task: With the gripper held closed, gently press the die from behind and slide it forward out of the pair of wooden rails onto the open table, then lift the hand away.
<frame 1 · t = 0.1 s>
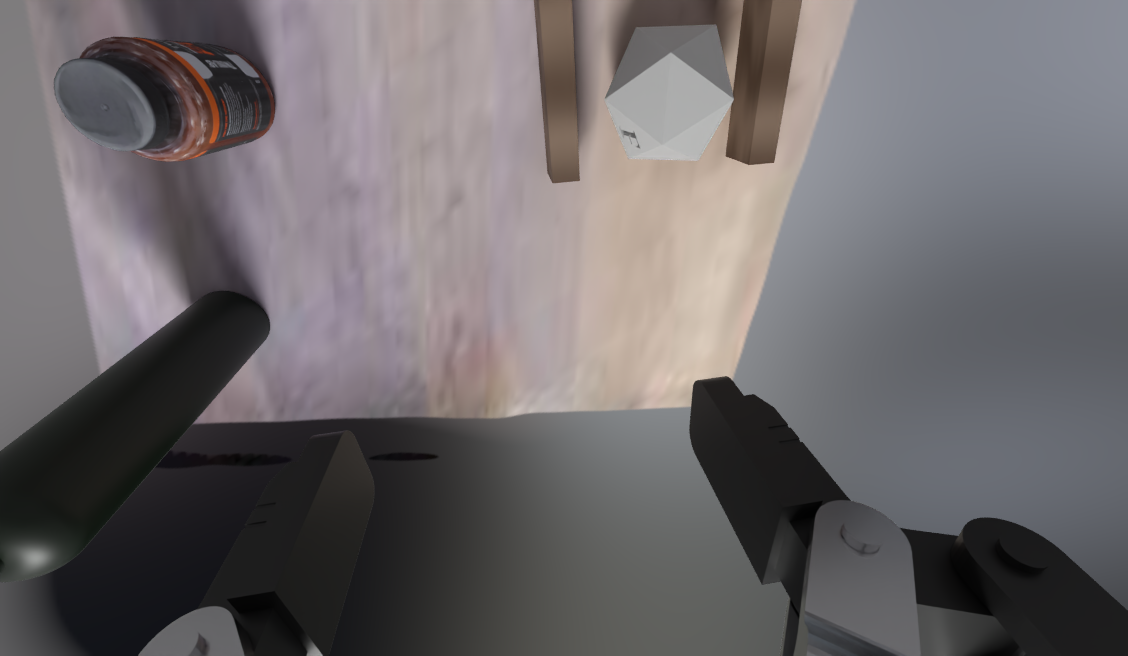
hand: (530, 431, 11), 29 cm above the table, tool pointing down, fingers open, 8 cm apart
die: (651, 94, 34), on the table
pair of wooden rails: (652, 79, 33), on the table
supplement bottle: (232, 95, 31), on the table
wine bottle: (234, 319, 39), on the table
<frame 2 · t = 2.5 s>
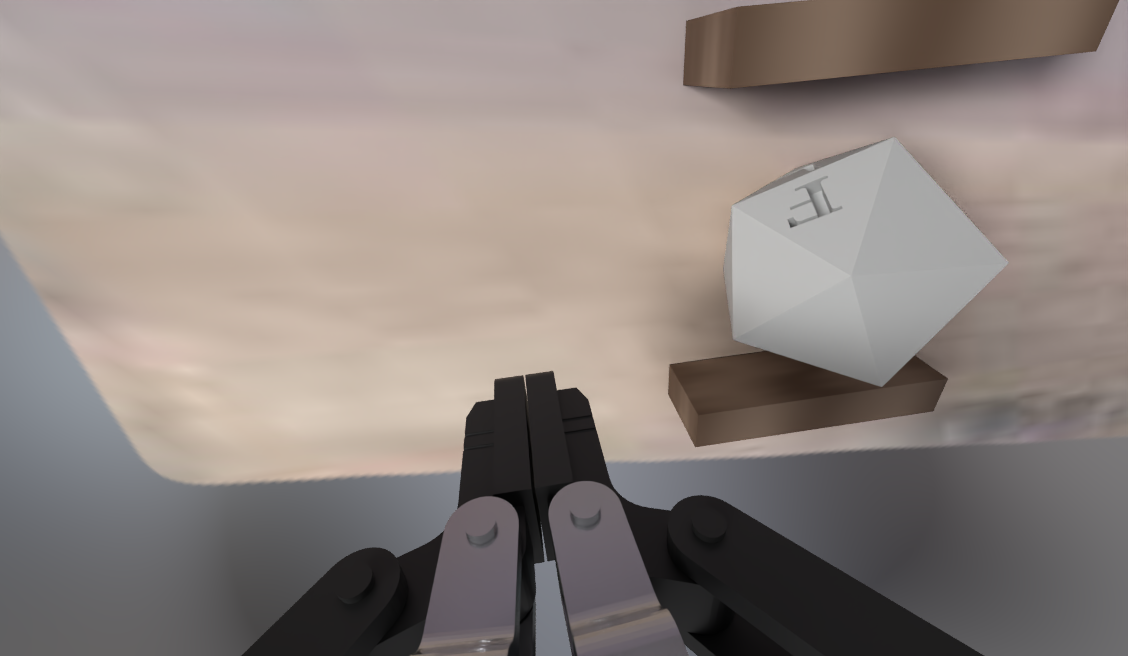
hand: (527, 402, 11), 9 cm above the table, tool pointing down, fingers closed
die: (778, 233, 21), on the table
pair of wooden rails: (801, 232, 20), on the table
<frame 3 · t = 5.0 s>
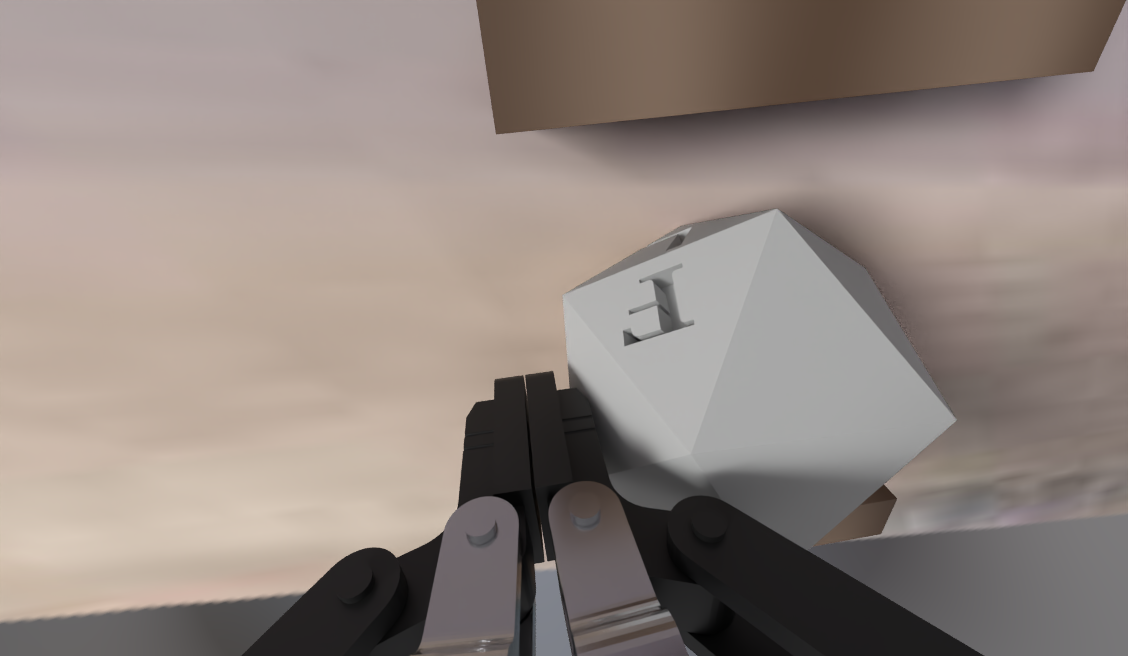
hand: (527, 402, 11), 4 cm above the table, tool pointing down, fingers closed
die: (670, 306, 15), on the table, touching gripper
pair of wooden rails: (700, 306, 15), on the table
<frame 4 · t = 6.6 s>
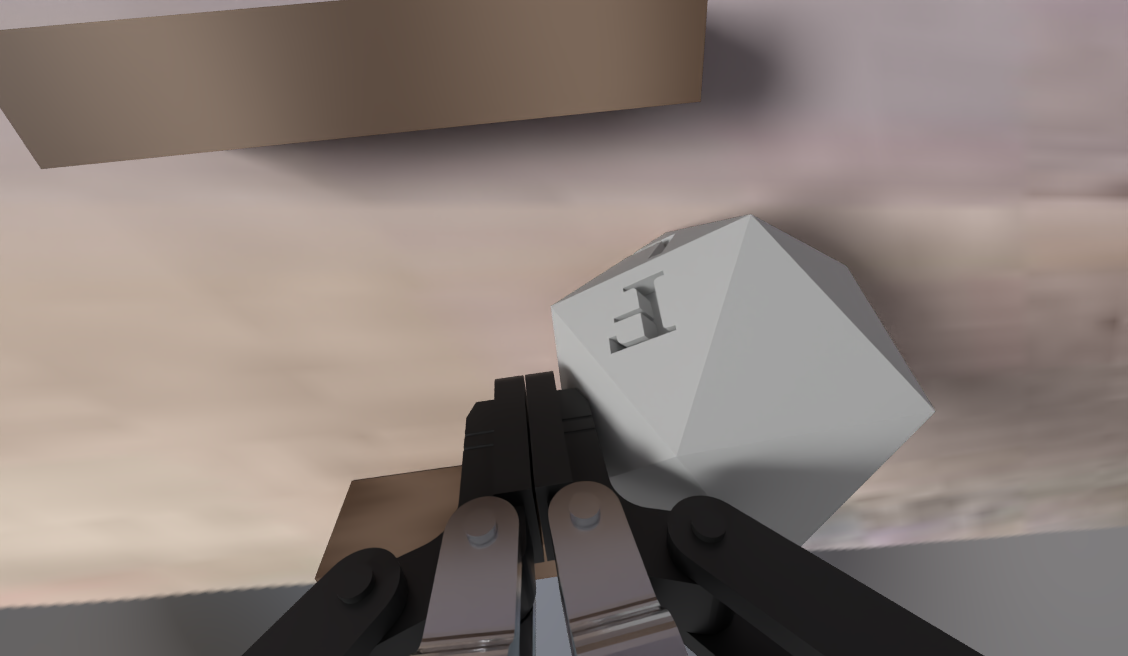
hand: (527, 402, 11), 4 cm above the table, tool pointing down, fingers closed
die: (660, 311, 16), on the table, touching gripper
pair of wooden rails: (468, 326, 15), on the table
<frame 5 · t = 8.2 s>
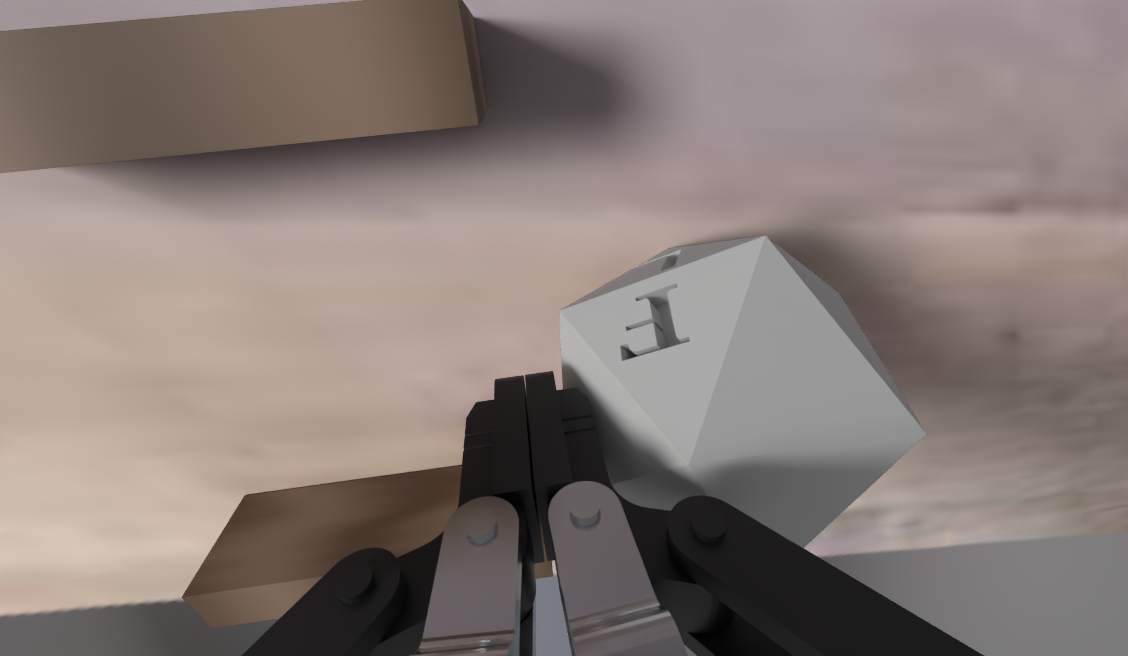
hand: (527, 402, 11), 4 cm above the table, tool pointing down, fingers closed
die: (655, 325, 16), on the table, touching gripper
pair of wooden rails: (341, 341, 15), on the table
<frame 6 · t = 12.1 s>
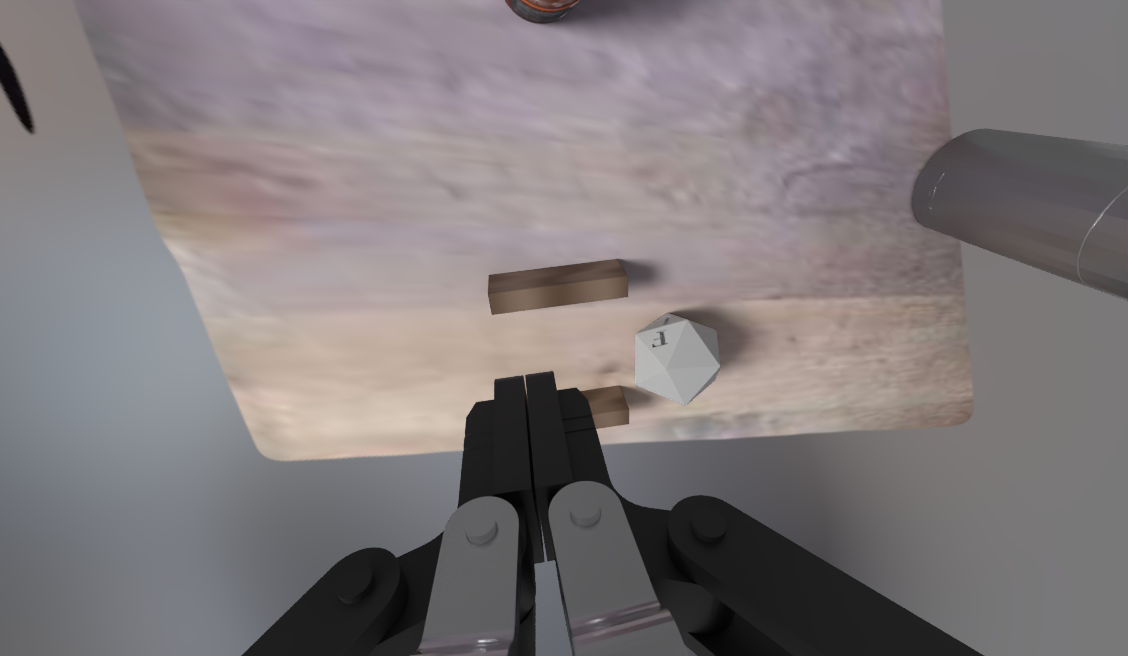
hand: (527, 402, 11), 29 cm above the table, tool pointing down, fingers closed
die: (662, 336, 47), on the table
pair of wooden rails: (561, 343, 45), on the table
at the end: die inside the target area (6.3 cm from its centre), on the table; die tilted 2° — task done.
